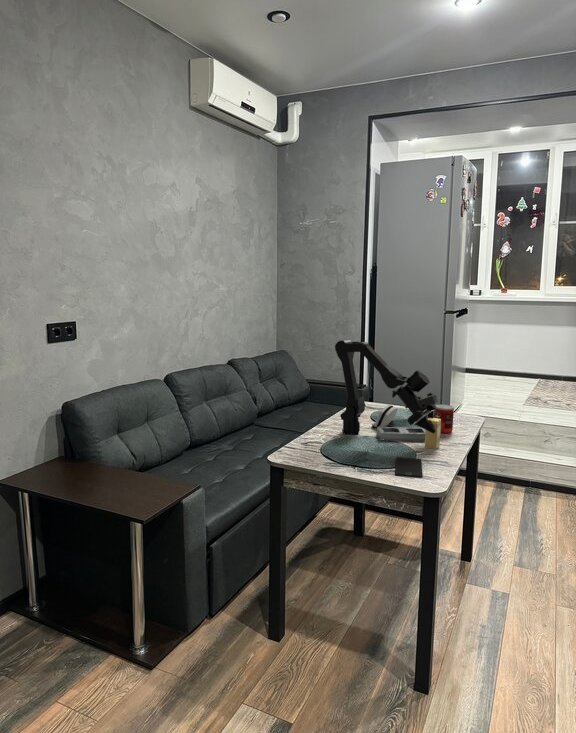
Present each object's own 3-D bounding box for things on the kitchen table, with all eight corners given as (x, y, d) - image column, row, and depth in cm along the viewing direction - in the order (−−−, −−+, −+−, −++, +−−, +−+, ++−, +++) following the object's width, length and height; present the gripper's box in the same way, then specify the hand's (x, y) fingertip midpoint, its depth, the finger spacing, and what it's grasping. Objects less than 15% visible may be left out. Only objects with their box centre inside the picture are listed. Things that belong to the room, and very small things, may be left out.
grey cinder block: (380, 440, 216) (380, 433, 215) (376, 434, 225) (377, 427, 224) (429, 441, 216) (430, 433, 215) (424, 434, 224) (425, 427, 224)
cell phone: (395, 476, 177) (395, 473, 177) (395, 459, 194) (396, 456, 194) (422, 478, 175) (422, 476, 175) (421, 461, 193) (421, 458, 192)
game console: (382, 419, 249) (390, 400, 246) (392, 424, 247) (400, 405, 244) (370, 427, 234) (378, 407, 231) (380, 432, 233) (388, 412, 229)
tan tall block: (424, 447, 207) (425, 419, 206) (428, 444, 211) (429, 417, 210) (436, 449, 205) (437, 421, 203) (439, 446, 209) (441, 418, 207)
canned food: (433, 428, 235) (435, 403, 233) (452, 430, 232) (454, 405, 230) (432, 432, 227) (433, 407, 226) (452, 434, 225) (453, 409, 223)
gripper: (417, 390, 199) (445, 424, 195) (432, 383, 214) (458, 413, 210) (396, 408, 204) (423, 441, 200) (412, 399, 220) (437, 430, 216)
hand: (436, 430), depth 206 cm, fingers open, 5 cm apart
